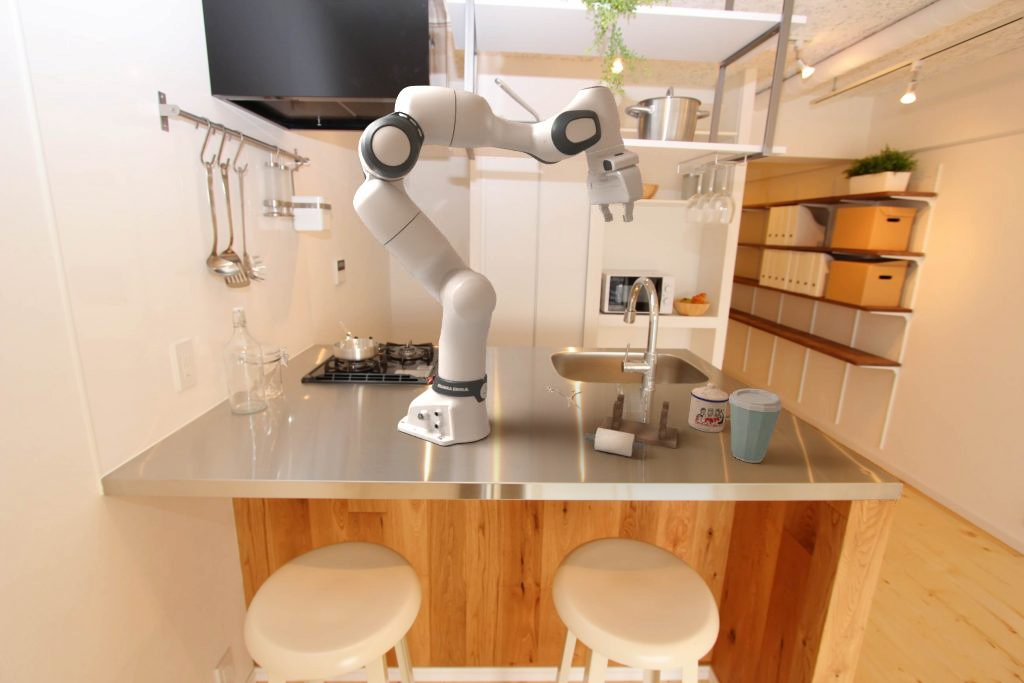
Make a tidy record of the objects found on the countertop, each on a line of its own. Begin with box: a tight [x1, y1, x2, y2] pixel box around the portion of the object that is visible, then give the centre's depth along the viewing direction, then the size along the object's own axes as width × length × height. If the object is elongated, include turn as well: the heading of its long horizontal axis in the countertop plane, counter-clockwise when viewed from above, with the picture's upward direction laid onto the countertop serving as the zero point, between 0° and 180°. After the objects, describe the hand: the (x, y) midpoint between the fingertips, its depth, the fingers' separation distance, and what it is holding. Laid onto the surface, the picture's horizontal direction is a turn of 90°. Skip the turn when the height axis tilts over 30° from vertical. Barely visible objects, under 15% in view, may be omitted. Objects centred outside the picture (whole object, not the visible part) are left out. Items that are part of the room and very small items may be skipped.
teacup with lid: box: [687, 382, 731, 433], centre depth 123 cm, size 12×9×12 cm
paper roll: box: [584, 427, 646, 458], centre depth 107 cm, size 13×5×5 cm, turn 69°
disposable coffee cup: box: [728, 388, 783, 464], centre depth 107 cm, size 11×11×15 cm
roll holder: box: [599, 393, 679, 449], centre depth 117 cm, size 18×10×8 cm, turn 69°
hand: (618, 221), depth 115 cm, fingers open, 8 cm apart
